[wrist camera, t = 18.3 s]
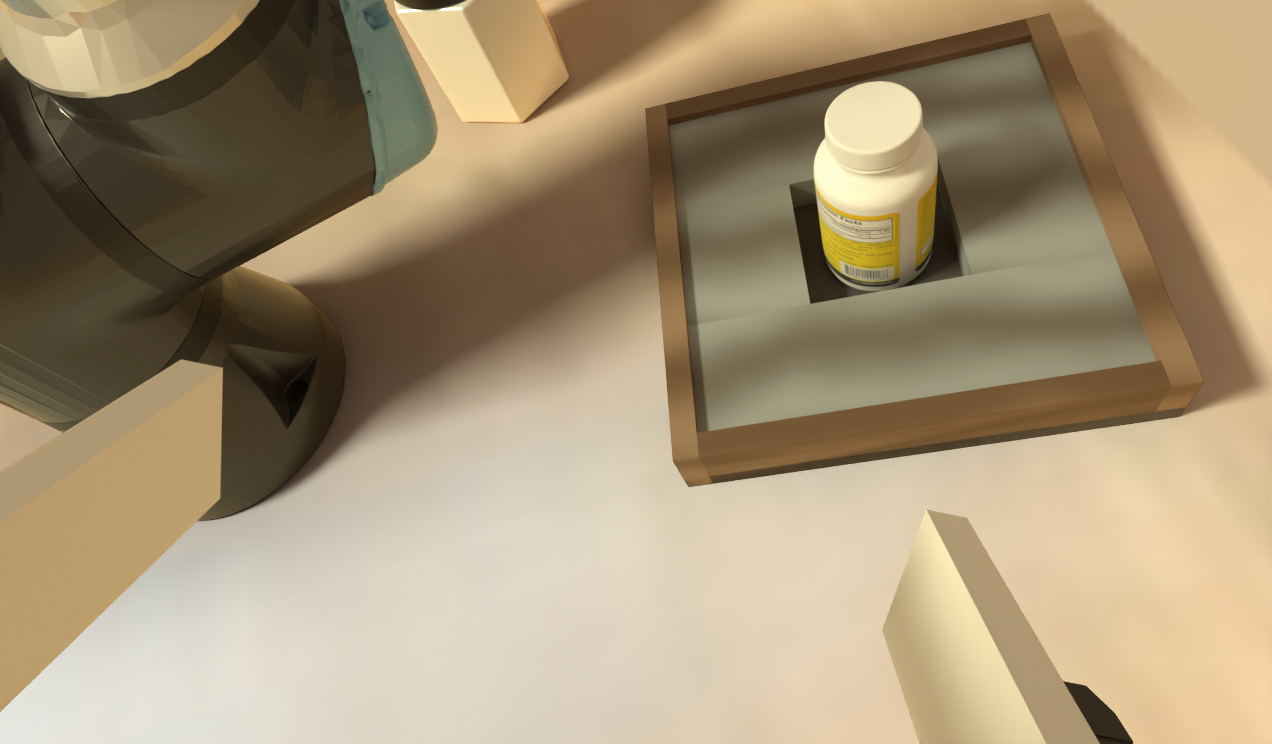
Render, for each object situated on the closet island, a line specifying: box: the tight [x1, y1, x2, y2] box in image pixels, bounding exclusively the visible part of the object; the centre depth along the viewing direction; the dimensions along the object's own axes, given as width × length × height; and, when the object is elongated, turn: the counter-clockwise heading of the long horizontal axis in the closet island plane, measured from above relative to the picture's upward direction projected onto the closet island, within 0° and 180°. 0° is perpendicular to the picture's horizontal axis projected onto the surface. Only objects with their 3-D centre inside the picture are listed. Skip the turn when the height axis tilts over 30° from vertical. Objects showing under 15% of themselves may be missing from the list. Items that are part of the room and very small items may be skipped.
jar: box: [394, 0, 569, 123], centre depth 54 cm, size 9×8×12 cm
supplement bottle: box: [814, 81, 938, 292], centre depth 40 cm, size 5×5×10 cm
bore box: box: [645, 13, 1204, 487], centre depth 44 cm, size 22×22×4 cm
